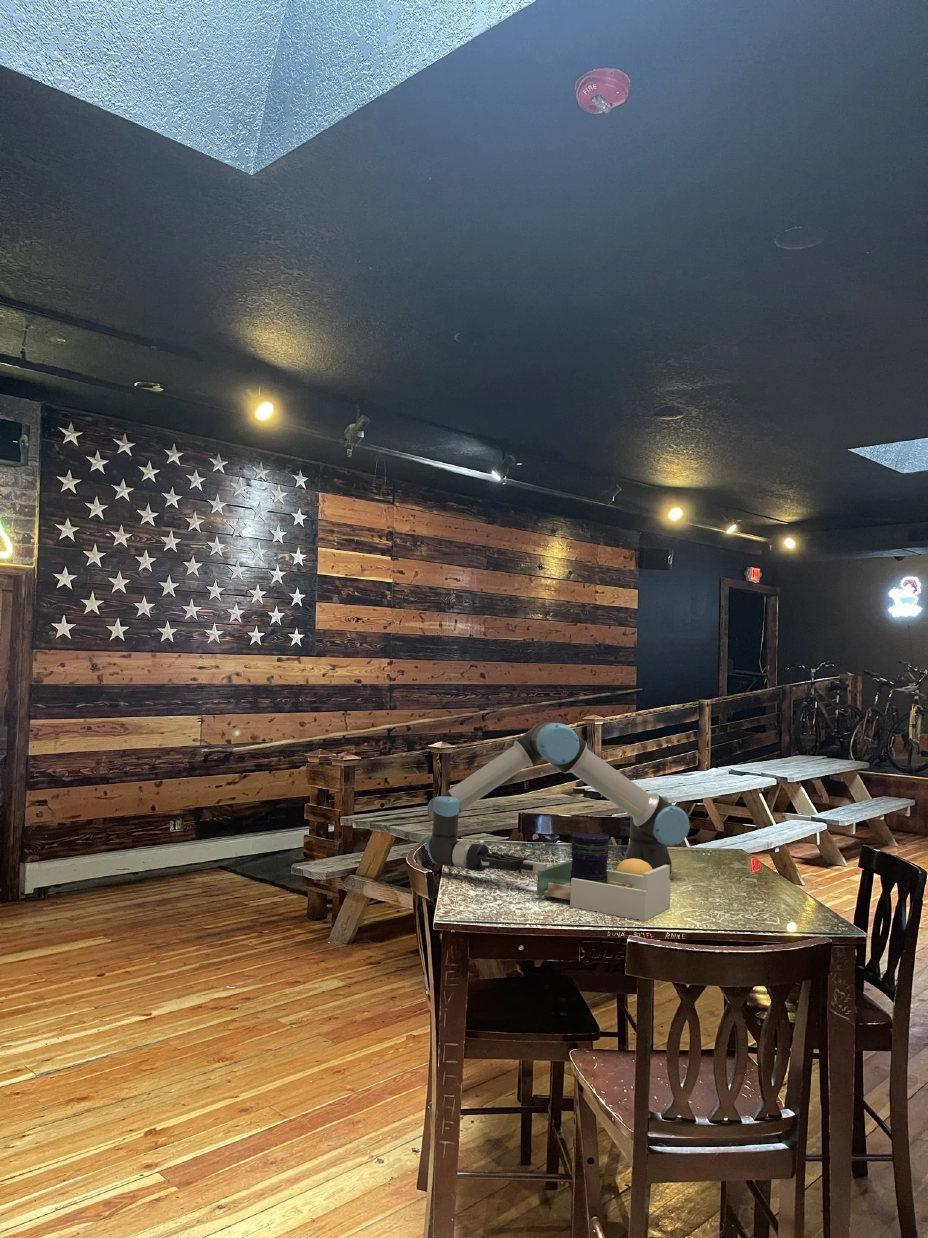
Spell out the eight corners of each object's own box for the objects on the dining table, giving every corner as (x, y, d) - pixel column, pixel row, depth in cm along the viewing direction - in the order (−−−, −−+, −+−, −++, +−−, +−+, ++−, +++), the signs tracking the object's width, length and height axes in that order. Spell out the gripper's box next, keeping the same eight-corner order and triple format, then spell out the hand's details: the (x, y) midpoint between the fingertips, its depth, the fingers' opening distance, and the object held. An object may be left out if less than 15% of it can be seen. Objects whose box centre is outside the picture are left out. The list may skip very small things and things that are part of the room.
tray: (536, 895, 227) (537, 870, 228) (567, 884, 242) (568, 861, 243) (607, 908, 217) (608, 882, 217) (634, 896, 232) (635, 872, 232)
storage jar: (612, 897, 225) (614, 839, 227) (575, 897, 224) (578, 838, 225) (600, 888, 235) (602, 832, 236) (565, 888, 233) (567, 831, 235)
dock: (570, 906, 222) (571, 862, 223) (598, 895, 237) (600, 853, 238) (644, 921, 211) (646, 875, 212) (670, 908, 226) (671, 864, 227)
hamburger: (621, 895, 238) (622, 863, 239) (606, 885, 250) (608, 855, 251) (662, 896, 240) (663, 864, 241) (646, 886, 252) (647, 855, 253)
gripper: (483, 866, 254) (555, 879, 241) (458, 873, 243) (533, 887, 231) (484, 840, 255) (556, 852, 242) (460, 846, 244) (534, 858, 231)
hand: (545, 869), depth 236 cm, fingers closed
